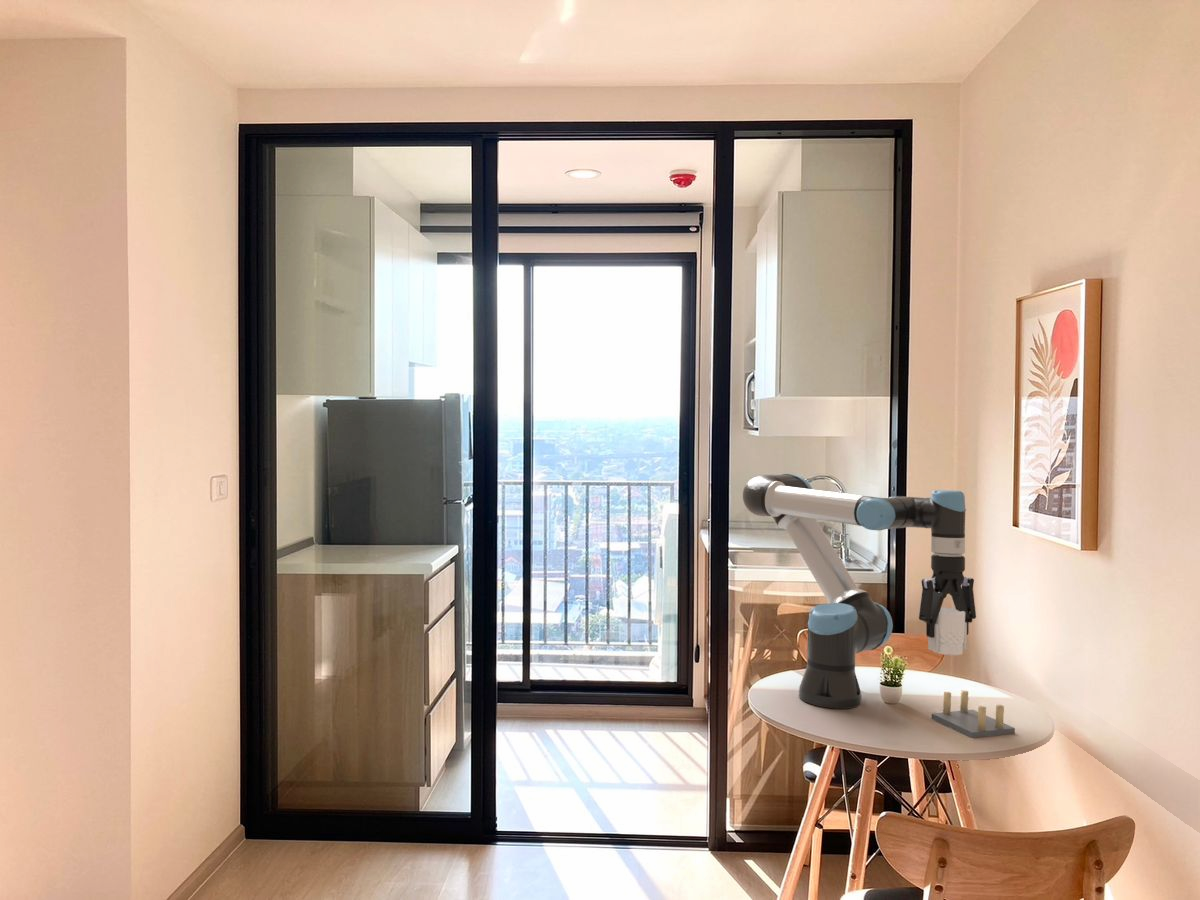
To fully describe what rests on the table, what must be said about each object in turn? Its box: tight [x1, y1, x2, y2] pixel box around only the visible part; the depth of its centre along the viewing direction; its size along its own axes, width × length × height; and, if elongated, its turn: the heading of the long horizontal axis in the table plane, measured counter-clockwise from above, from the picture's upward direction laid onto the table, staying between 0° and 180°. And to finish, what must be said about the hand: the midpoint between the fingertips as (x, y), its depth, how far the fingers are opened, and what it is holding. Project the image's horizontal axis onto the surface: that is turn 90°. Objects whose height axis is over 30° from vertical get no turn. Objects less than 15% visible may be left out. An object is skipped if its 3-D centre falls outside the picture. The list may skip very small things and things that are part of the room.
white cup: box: [931, 607, 966, 656], centre depth 199 cm, size 8×8×10 cm
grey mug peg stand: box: [931, 689, 1016, 739], centre depth 192 cm, size 12×13×6 cm
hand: (947, 649), depth 199 cm, fingers closed on white cup, 8 cm apart
